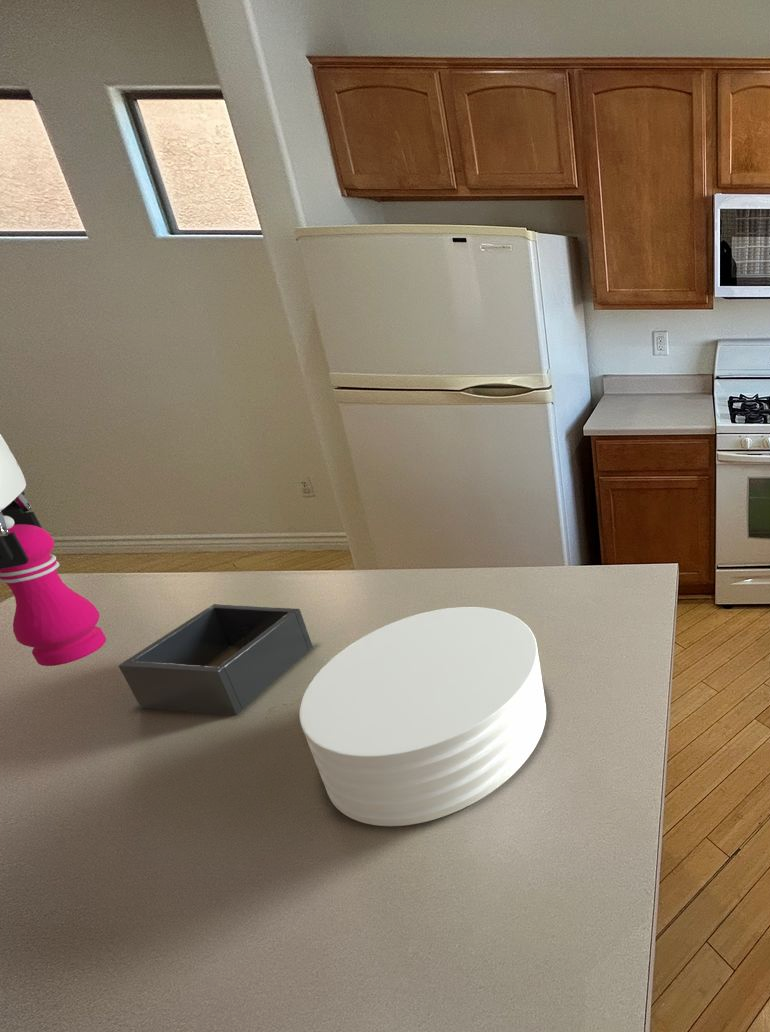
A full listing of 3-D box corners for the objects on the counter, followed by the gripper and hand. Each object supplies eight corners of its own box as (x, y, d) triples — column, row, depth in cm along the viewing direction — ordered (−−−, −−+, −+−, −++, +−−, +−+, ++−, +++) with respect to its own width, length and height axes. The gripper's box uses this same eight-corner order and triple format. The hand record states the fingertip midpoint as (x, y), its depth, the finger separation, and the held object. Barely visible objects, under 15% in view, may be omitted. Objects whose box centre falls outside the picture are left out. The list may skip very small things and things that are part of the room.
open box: (140, 708, 81) (117, 665, 78) (230, 642, 95) (214, 603, 92) (236, 714, 80) (217, 672, 77) (313, 647, 94) (299, 608, 91)
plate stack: (273, 779, 71) (244, 712, 66) (446, 647, 95) (433, 591, 90) (438, 863, 61) (417, 791, 57) (584, 692, 85) (577, 632, 81)
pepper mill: (26, 677, 69) (-60, 536, 61) (37, 648, 74) (-41, 514, 66) (109, 653, 73) (38, 518, 65) (114, 627, 78) (49, 498, 70)
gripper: (-77, 399, 65) (-1, 535, 72) (-165, 437, 52) (-61, 597, 59) (18, 392, 69) (82, 520, 76) (-41, 425, 56) (42, 576, 63)
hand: (18, 553), depth 68 cm, fingers closed on pepper mill, 6 cm apart
